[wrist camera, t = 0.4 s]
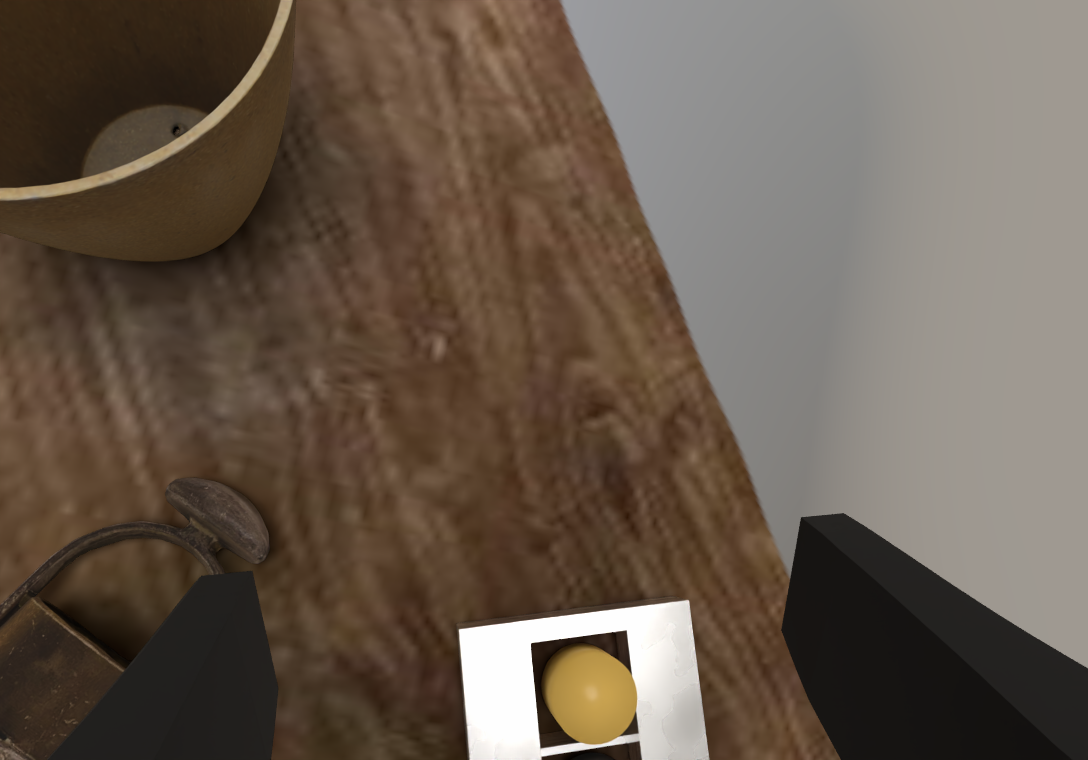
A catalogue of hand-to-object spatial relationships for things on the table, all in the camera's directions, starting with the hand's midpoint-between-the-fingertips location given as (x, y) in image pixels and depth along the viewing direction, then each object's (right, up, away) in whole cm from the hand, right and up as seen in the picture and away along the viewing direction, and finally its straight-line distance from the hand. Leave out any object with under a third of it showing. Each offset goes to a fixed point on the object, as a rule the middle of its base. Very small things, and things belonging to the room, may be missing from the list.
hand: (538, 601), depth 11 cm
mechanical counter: (-16, -8, +23) cm, 29 cm away
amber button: (+2, -10, +24) cm, 26 cm away
